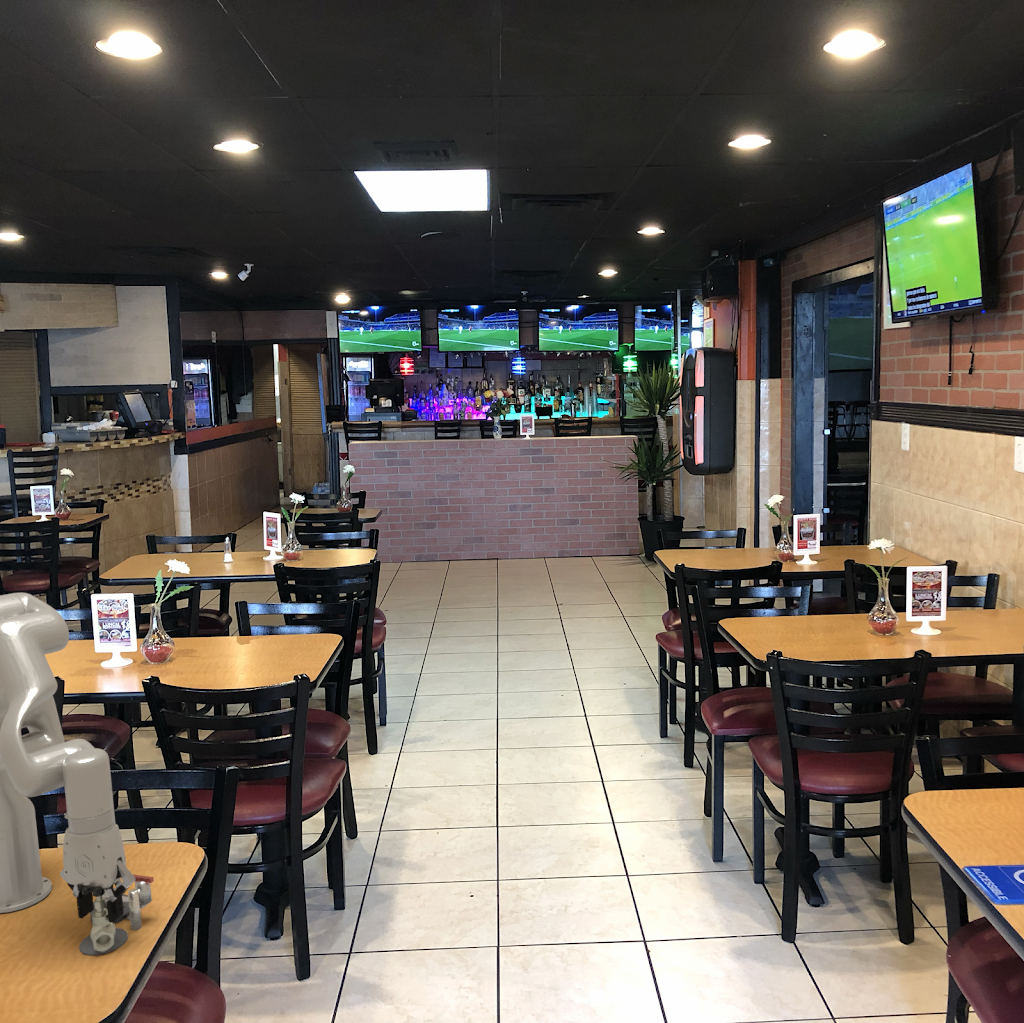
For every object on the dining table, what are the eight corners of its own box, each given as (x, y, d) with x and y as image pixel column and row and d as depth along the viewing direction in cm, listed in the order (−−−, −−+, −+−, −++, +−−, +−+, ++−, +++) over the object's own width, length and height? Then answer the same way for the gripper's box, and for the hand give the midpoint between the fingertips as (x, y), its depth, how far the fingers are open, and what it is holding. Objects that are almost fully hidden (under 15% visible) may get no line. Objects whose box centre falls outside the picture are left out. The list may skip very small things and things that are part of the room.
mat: (69, 952, 165) (69, 950, 165) (100, 927, 172) (100, 925, 172) (107, 957, 162) (106, 955, 162) (137, 932, 170) (137, 930, 170)
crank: (95, 905, 175) (92, 875, 174) (108, 895, 178) (105, 866, 178) (148, 913, 171) (145, 882, 171) (161, 903, 175) (158, 873, 174)
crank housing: (82, 923, 174) (78, 888, 173) (108, 904, 181) (105, 869, 180) (136, 930, 171) (133, 894, 170) (161, 910, 177) (157, 875, 176)
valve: (84, 958, 162) (76, 893, 160) (84, 939, 168) (77, 876, 166) (124, 948, 164) (118, 883, 163) (123, 929, 170) (117, 867, 169)
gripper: (35, 825, 164) (46, 922, 166) (118, 833, 159) (127, 933, 161) (67, 807, 171) (76, 900, 173) (146, 814, 166) (155, 910, 168)
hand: (101, 915), depth 167 cm, fingers open, 5 cm apart
